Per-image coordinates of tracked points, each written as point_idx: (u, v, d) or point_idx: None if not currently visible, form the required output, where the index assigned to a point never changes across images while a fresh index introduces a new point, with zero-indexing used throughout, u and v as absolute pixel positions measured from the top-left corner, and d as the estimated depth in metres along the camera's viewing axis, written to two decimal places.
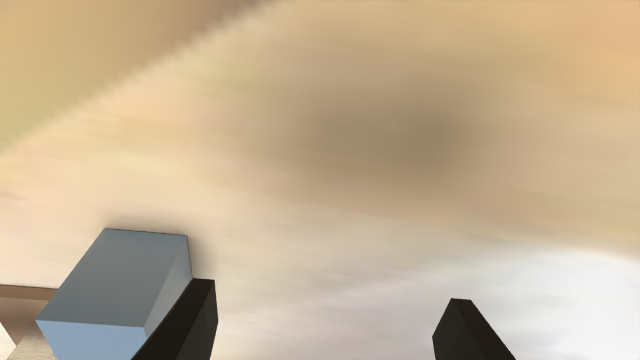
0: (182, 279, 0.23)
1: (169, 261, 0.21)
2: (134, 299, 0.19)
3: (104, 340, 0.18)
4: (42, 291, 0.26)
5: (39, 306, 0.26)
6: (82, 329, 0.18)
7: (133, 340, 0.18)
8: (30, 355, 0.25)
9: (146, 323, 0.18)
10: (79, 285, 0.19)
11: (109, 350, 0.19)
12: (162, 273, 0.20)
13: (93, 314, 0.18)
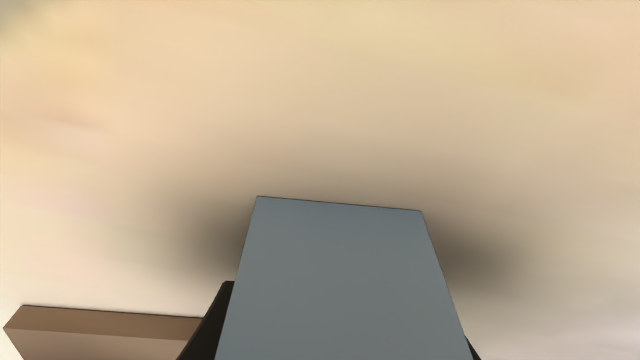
0: None
1: (430, 264, 0.09)
2: None
3: None
4: (110, 318, 0.14)
5: (105, 346, 0.14)
6: None
7: None
8: None
9: None
10: (267, 327, 0.07)
11: None
12: (436, 293, 0.09)
13: None
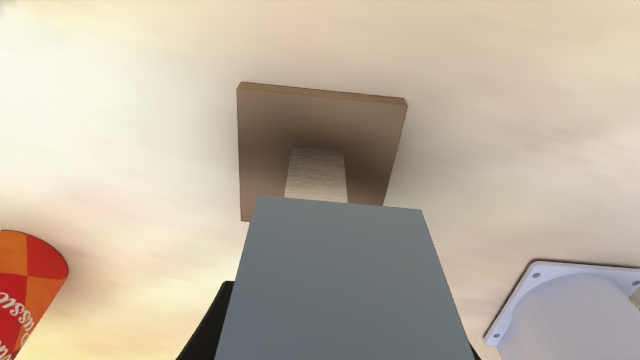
0: None
1: (430, 263, 0.09)
2: None
3: None
4: (315, 91, 0.17)
5: (314, 112, 0.17)
6: None
7: None
8: (317, 176, 0.16)
9: None
10: (268, 325, 0.07)
11: None
12: (437, 291, 0.09)
13: None
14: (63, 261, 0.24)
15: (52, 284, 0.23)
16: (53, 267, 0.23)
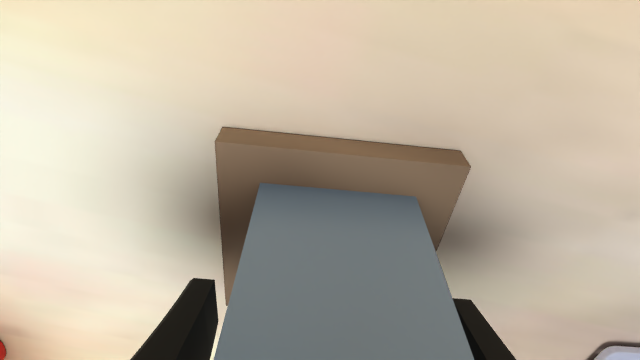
0: None
1: (424, 244, 0.10)
2: (415, 332, 0.08)
3: None
4: (332, 142, 0.12)
5: (330, 173, 0.11)
6: None
7: None
8: None
9: None
10: (271, 298, 0.08)
11: None
12: (429, 269, 0.09)
13: None
14: None
15: None
16: None
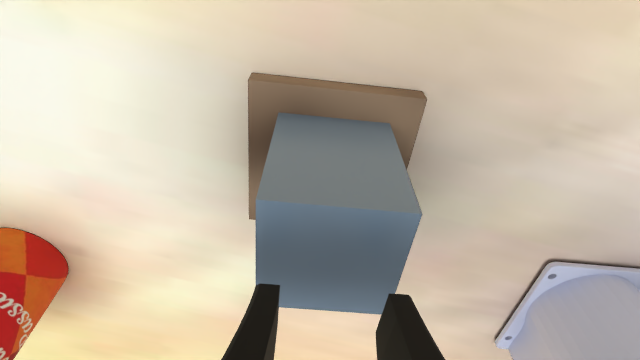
0: None
1: (391, 146, 0.15)
2: (380, 182, 0.12)
3: (345, 240, 0.12)
4: (330, 83, 0.16)
5: (328, 104, 0.16)
6: (322, 218, 0.11)
7: (391, 240, 0.12)
8: None
9: (418, 210, 0.11)
10: (290, 165, 0.13)
11: (343, 261, 0.12)
12: (394, 157, 0.14)
13: (336, 196, 0.11)
14: (63, 260, 0.23)
15: (52, 284, 0.22)
16: (53, 266, 0.22)
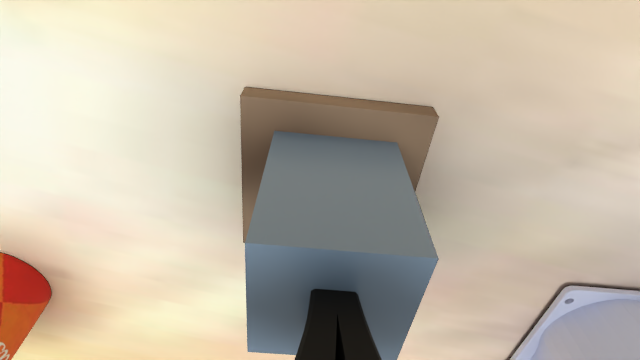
0: None
1: (400, 170, 0.13)
2: (388, 217, 0.11)
3: (349, 286, 0.10)
4: (331, 98, 0.15)
5: (329, 122, 0.15)
6: (322, 263, 0.10)
7: (402, 285, 0.10)
8: None
9: (433, 253, 0.10)
10: (286, 196, 0.11)
11: None
12: (403, 185, 0.12)
13: (339, 237, 0.10)
14: (45, 283, 0.22)
15: (32, 310, 0.21)
16: (33, 290, 0.21)
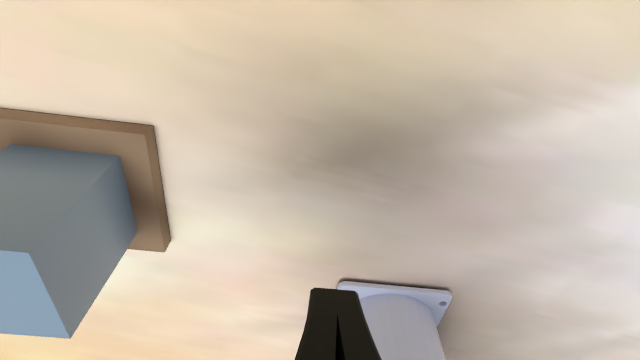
0: (114, 213, 0.18)
1: (89, 180, 0.16)
2: (26, 219, 0.13)
3: None
4: (59, 117, 0.17)
5: (54, 138, 0.17)
6: None
7: (19, 274, 0.13)
8: None
9: (36, 248, 0.13)
10: None
11: None
12: (75, 193, 0.15)
13: None
14: None
15: None
16: None
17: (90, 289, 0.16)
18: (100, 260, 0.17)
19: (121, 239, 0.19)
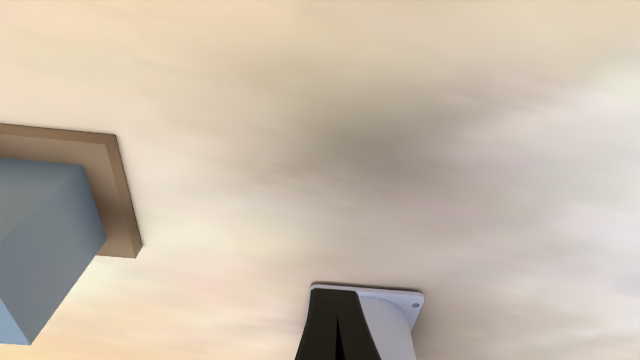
0: (78, 221, 0.18)
1: (48, 190, 0.16)
2: None
3: None
4: (22, 128, 0.18)
5: (18, 149, 0.17)
6: None
7: None
8: None
9: None
10: None
11: None
12: (33, 203, 0.15)
13: None
14: None
15: None
16: None
17: (52, 297, 0.17)
18: (63, 268, 0.17)
19: (87, 247, 0.19)
